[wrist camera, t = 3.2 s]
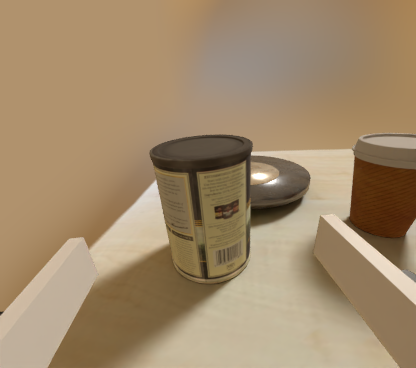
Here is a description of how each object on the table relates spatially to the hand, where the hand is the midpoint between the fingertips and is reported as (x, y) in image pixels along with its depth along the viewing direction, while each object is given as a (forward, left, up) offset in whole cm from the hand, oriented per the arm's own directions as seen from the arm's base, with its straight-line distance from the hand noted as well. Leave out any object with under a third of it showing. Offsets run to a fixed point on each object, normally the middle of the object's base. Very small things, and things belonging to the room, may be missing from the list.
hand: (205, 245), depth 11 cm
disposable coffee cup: (-24, -13, -11) cm, 30 cm away
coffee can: (0, -11, -11) cm, 16 cm away
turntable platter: (-9, -29, -9) cm, 32 cm away
